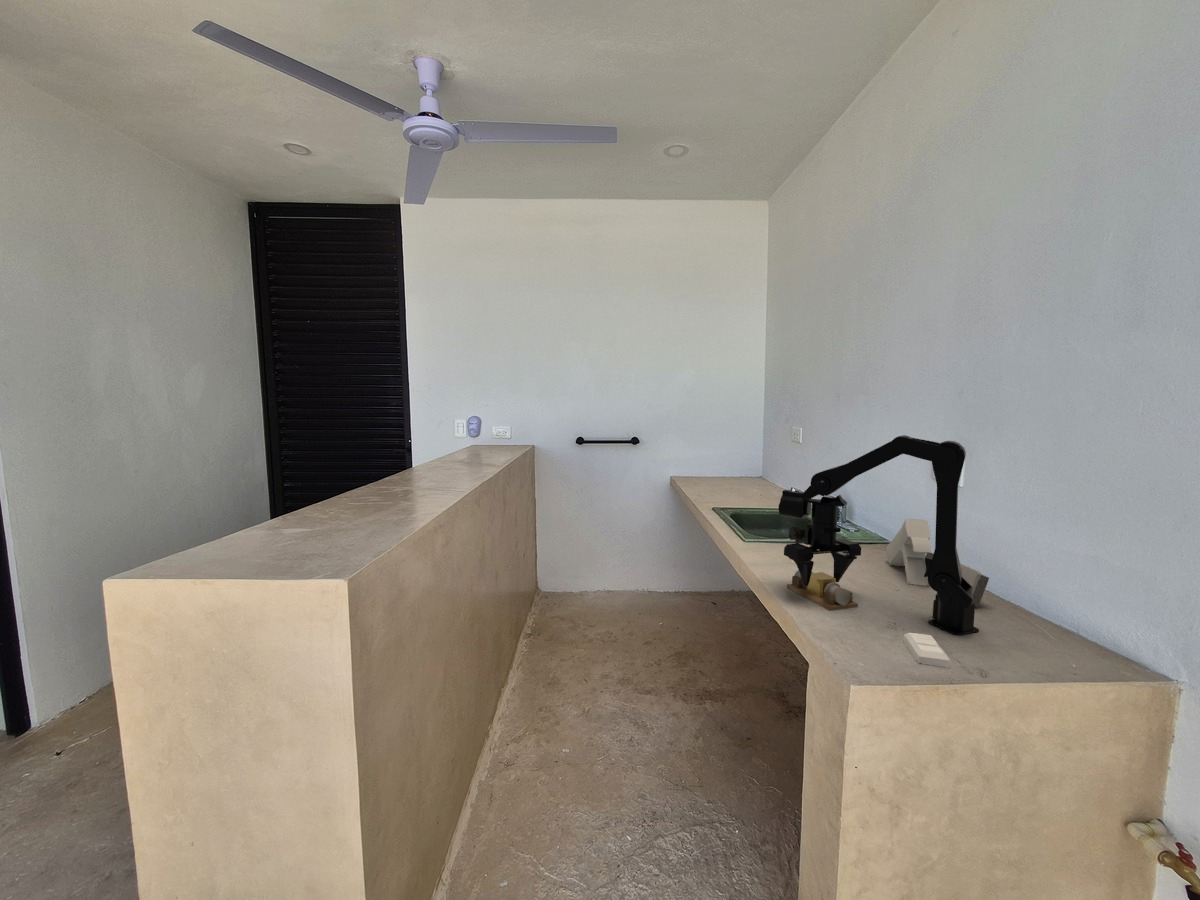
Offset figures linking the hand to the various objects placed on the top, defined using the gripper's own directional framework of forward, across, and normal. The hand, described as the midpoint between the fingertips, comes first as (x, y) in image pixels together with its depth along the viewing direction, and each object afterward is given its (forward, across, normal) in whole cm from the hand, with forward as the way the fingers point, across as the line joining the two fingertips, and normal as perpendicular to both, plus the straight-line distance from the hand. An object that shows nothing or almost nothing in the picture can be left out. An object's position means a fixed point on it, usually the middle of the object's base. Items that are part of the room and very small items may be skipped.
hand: (821, 583), depth 119 cm
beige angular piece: (+4, -36, -7) cm, 37 cm away
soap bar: (+4, +1, +29) cm, 29 cm away
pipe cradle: (+3, 0, 0) cm, 3 cm away
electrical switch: (+4, -31, +12) cm, 33 cm away
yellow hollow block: (+2, 0, 0) cm, 3 cm away
